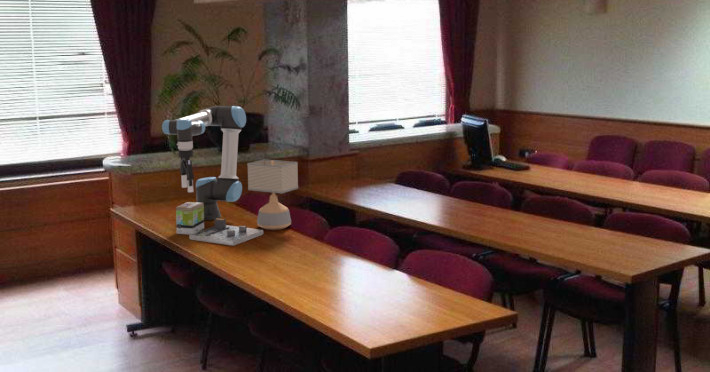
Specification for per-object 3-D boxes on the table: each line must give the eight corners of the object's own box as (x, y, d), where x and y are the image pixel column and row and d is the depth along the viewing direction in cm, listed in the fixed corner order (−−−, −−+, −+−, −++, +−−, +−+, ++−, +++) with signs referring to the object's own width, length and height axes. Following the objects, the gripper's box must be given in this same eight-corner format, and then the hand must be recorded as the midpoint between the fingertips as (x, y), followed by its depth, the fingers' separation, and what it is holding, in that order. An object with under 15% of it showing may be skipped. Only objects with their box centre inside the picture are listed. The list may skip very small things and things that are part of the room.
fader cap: (218, 227, 422) (218, 217, 422) (225, 228, 420) (225, 218, 419) (214, 228, 420) (214, 219, 419) (222, 229, 418) (222, 220, 417)
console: (220, 228, 431) (219, 219, 430) (263, 234, 417) (263, 225, 416) (188, 239, 408) (188, 229, 407) (233, 245, 395) (232, 236, 394)
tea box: (194, 235, 417) (192, 207, 414) (176, 234, 419) (174, 206, 416) (204, 228, 431) (203, 201, 429) (187, 227, 433) (186, 201, 431)
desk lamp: (300, 225, 436) (299, 160, 429) (281, 233, 419) (279, 165, 413) (267, 221, 446) (265, 157, 439) (247, 228, 429) (245, 162, 423)
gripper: (172, 146, 416) (175, 186, 420) (183, 153, 394) (186, 194, 398) (187, 145, 419) (189, 184, 423) (198, 152, 397) (200, 193, 401)
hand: (187, 189), depth 410 cm, fingers open, 13 cm apart
